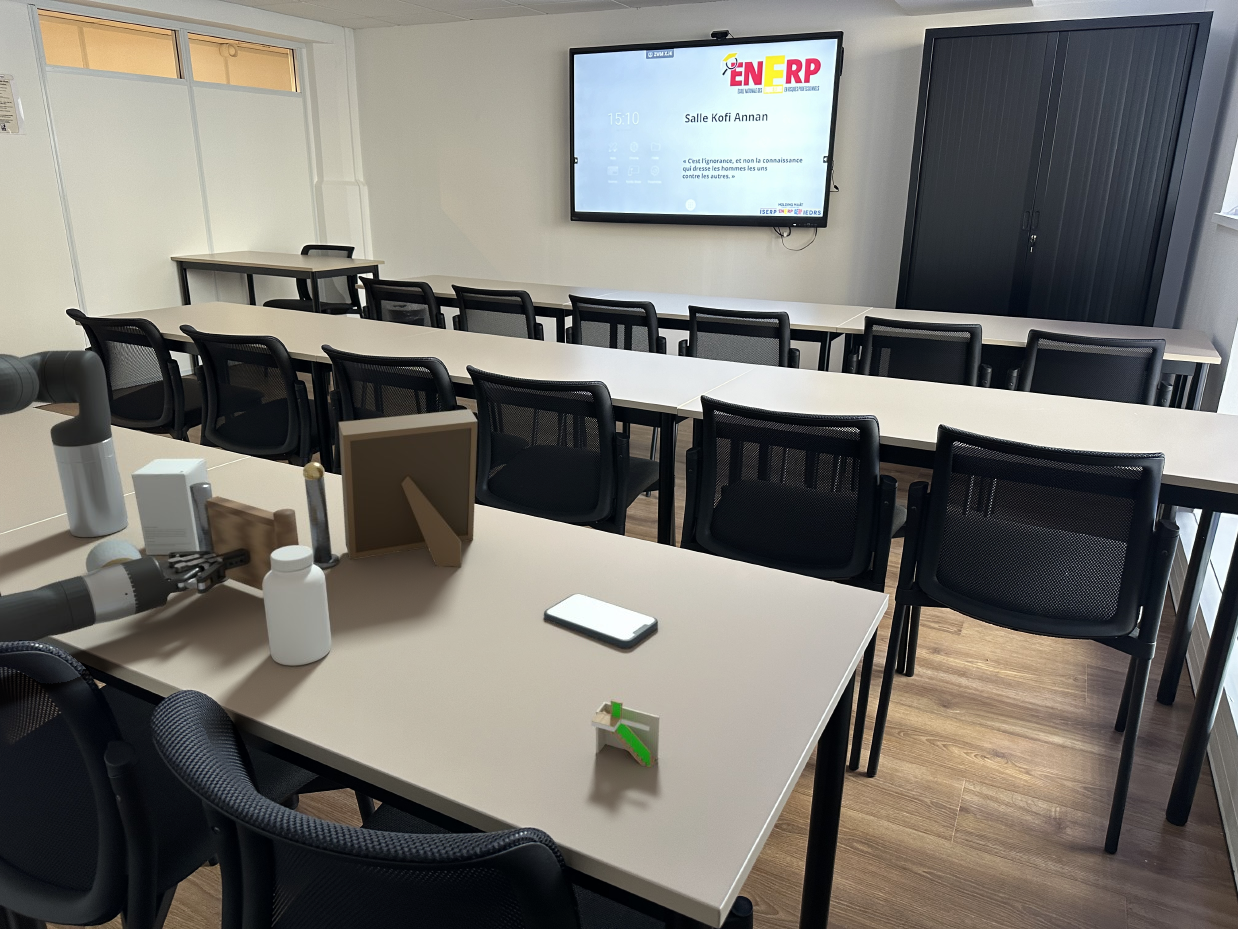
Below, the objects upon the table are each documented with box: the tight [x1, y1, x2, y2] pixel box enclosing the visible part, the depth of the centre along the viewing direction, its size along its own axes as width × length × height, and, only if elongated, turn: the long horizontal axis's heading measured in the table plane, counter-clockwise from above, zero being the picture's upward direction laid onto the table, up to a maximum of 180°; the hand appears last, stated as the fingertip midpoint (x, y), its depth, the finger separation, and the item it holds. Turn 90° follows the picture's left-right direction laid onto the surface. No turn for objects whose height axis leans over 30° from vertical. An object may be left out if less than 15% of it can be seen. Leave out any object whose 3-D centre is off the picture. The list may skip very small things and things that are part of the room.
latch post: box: [302, 461, 340, 570], centre depth 142 cm, size 5×5×18 cm
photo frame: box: [338, 408, 478, 568], centre depth 144 cm, size 15×22×25 cm
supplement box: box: [131, 458, 210, 556], centre depth 149 cm, size 9×9×15 cm
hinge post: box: [190, 482, 229, 584], centre depth 137 cm, size 5×5×16 cm
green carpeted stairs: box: [590, 698, 660, 768], centre depth 95 cm, size 4×7×8 cm, turn 66°
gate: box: [206, 495, 300, 592], centre depth 131 cm, size 18×3×14 cm, turn 60°
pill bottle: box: [262, 544, 332, 666], centre depth 115 cm, size 8×8×15 cm
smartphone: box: [543, 593, 659, 650], centre depth 127 cm, size 9×2×16 cm
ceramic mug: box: [85, 538, 142, 573], centre depth 134 cm, size 11×8×8 cm
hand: (247, 555), depth 131 cm, fingers closed
